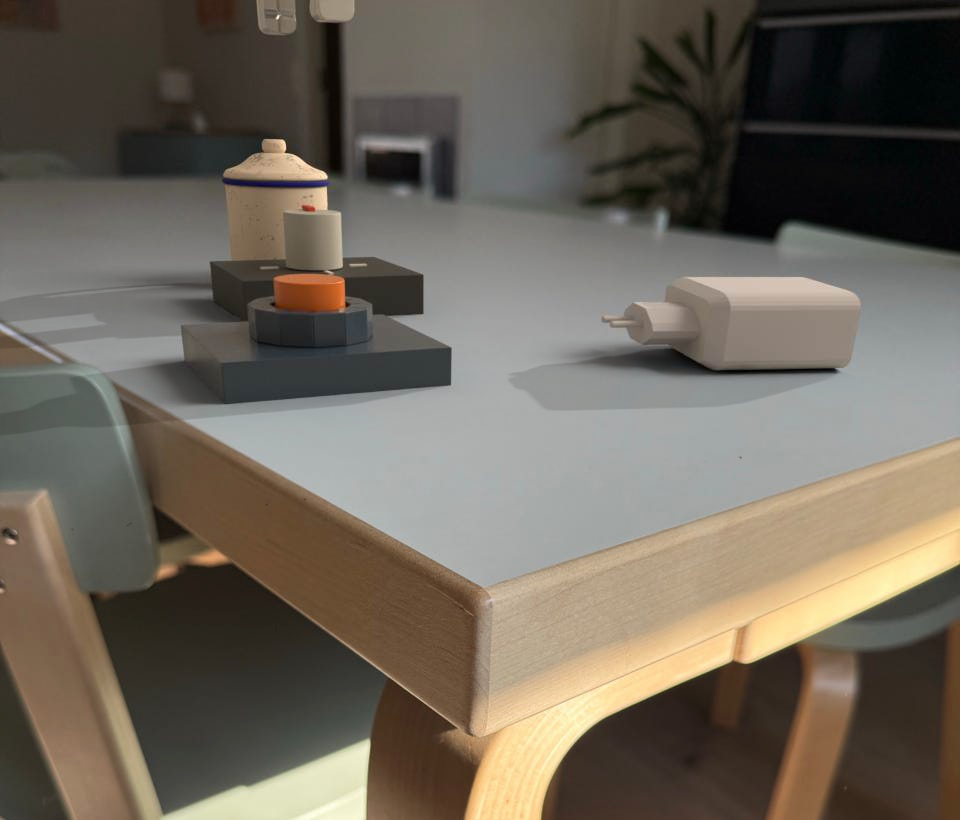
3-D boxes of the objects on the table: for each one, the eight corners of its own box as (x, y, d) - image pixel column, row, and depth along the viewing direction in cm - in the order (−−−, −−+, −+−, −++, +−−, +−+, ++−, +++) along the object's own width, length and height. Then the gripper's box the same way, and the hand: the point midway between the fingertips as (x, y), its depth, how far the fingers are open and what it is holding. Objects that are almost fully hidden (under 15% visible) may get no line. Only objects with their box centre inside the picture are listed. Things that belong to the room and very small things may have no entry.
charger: (582, 346, 68) (782, 343, 71) (625, 377, 60) (849, 373, 63) (587, 273, 66) (794, 274, 69) (633, 296, 58) (864, 295, 61)
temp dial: (349, 270, 76) (347, 209, 74) (292, 271, 75) (289, 209, 73) (334, 262, 80) (332, 205, 78) (280, 263, 78) (277, 204, 76)
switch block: (225, 405, 52) (217, 326, 50) (184, 361, 60) (176, 293, 58) (451, 386, 57) (452, 314, 55) (383, 348, 65) (382, 285, 63)
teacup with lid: (339, 291, 86) (334, 142, 81) (233, 292, 84) (220, 139, 78) (322, 272, 96) (316, 138, 91) (227, 272, 94) (215, 136, 89)
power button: (286, 318, 54) (284, 285, 54) (267, 306, 58) (265, 274, 57) (355, 314, 56) (354, 282, 55) (333, 303, 59) (331, 272, 58)
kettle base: (246, 324, 72) (242, 278, 70) (213, 300, 80) (209, 259, 79) (423, 314, 77) (423, 272, 76) (375, 293, 86) (374, 254, 84)
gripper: (169, -270, 52) (199, 37, 58) (277, -444, 36) (301, 8, 42) (286, -250, 54) (302, 42, 61) (436, -403, 38) (436, 17, 45)
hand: (303, 28), depth 51 cm, fingers open, 8 cm apart
